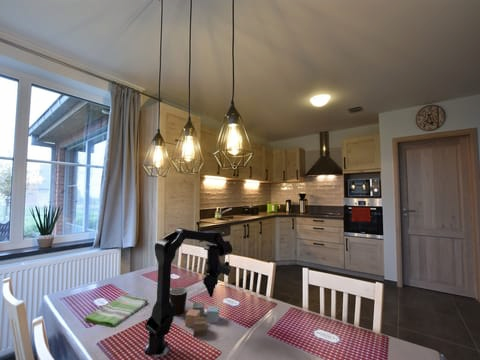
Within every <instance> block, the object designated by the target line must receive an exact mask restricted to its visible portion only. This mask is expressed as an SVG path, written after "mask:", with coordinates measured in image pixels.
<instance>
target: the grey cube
mask: <svg viewBox="0 0 480 360" xmlns="http://www.w3.org/2000/svg"><path fill="white" fill-rule="evenodd" d="M207 307H208V308H207V310H206V323H209V324H211V323H213V324H218V323H219V319H220V306H219V305H216V306H215V305H208V306H207Z"/></svg>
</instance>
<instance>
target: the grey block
mask: <svg viewBox="0 0 480 360" xmlns="http://www.w3.org/2000/svg"><path fill="white" fill-rule="evenodd" d="M192 309H193V310H200V317H205V316H204V315H205V302H201V301H200V302H194V303H193V305H192Z"/></svg>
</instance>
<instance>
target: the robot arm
mask: <svg viewBox="0 0 480 360" xmlns="http://www.w3.org/2000/svg"><path fill="white" fill-rule="evenodd" d="M222 236H223V235H222V233H221V232H220V231H219V232H218V231H215V230H205V231H199V230H192V229H185V228H183V227H182V228H181V227H180V228H177V229H175V230H174V231H172V232H170V233H169V234H167V235H165V236H164V237H163V238H160V239H159V240H157V242H155V244H154V254H155V258H156V261H157V266H158V267H157V286H156V287H157V289H156V302H155V304H154V305H153V306H152V312H151V315H150V317H149V318H148V319H147V320H146V322H145V324H144V327H145V330H146V331H148V346H147V348H146V349H145V350H144V354H145V355H163V353H164V351H165V349H166V348H167V345H168V343H169V341H166V335H168V334H169V333H170V330H171V327H172V323H173V322H174V318H175V317H176V315H175V305H174V304H172V303H170V290H171V277H172V275H171V274H172V263H173V261H174V259H175V257H176V252H177V251H178V249H179V248H181V247H182V245H183V243H184V242H185V240H195V241H202V242H206V243H207V244H206V245H205V246H204V248H203V250H205V251H206V252H207V253H206V259H207V260H206V270H205V271H206V272H205V273H206V274H205V275H204V277H203V280H202V281H203V282H202V283H203V285H204V286H205V289H206V290H207V294H208V295H209V298H213V295H214V292H215V289H216V286H217V285H218V283H219V276H220V275H221V274H223V275H225V276H227V277H228V276H230V273H231V270H232V266H231V265H230V262H229V261H225V262H221V259H220V257H224V256H225V257H226V256H229V255H231V254H232V252H233V248H234V247H232V244H231V243H230V242H231V241H230V240H224V238H223V237H222Z"/></svg>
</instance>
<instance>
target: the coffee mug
mask: <svg viewBox="0 0 480 360" xmlns="http://www.w3.org/2000/svg"><path fill="white" fill-rule="evenodd" d="M187 295H188V289H187V288H186V287H181V286H179V287H174V288H170V303H172V304H174V305H175V316H180V315H183V314H184V313H185V311H186V303H187Z"/></svg>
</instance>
